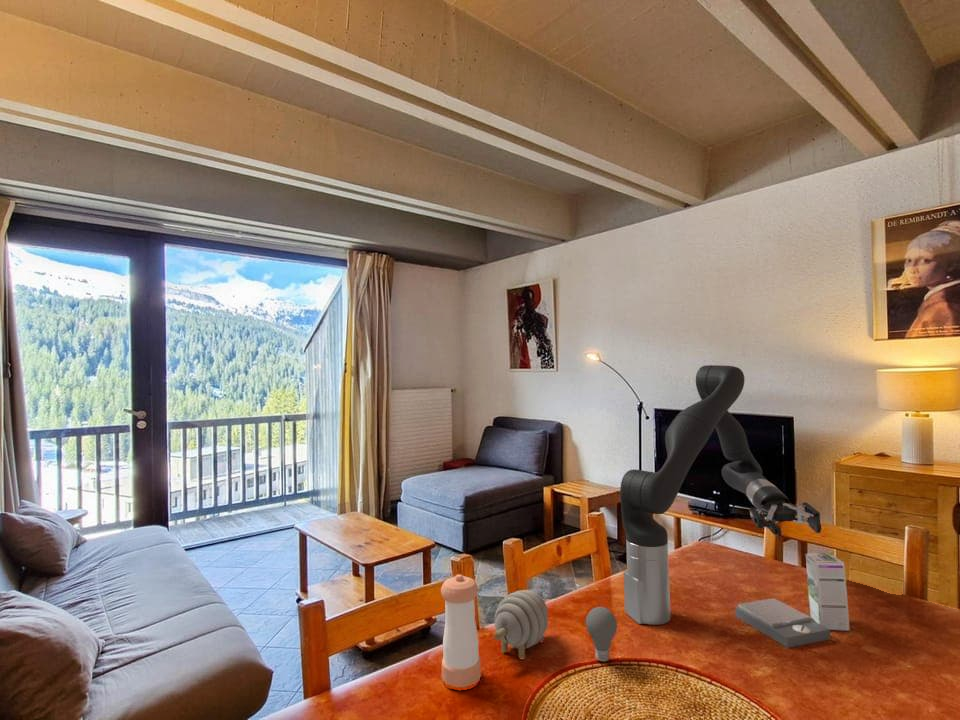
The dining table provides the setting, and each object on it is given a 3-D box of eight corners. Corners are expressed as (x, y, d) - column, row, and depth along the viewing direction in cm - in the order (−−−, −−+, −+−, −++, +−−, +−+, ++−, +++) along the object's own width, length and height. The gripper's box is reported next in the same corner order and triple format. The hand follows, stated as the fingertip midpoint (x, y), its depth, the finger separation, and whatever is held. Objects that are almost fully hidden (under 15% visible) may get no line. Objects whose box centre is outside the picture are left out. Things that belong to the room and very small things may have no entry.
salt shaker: (436, 688, 90) (434, 581, 91) (448, 665, 97) (446, 566, 98) (475, 693, 88) (473, 584, 89) (484, 670, 95) (482, 569, 96)
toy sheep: (560, 636, 107) (559, 584, 107) (525, 677, 93) (524, 617, 93) (517, 624, 113) (515, 574, 113) (477, 661, 98) (476, 604, 99)
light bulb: (596, 671, 94) (594, 617, 94) (581, 654, 100) (580, 603, 100) (624, 665, 96) (622, 612, 96) (608, 649, 101) (606, 599, 102)
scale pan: (772, 627, 104) (772, 624, 105) (738, 607, 114) (738, 604, 114) (810, 620, 107) (810, 617, 107) (774, 601, 116) (773, 598, 116)
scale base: (787, 647, 100) (786, 636, 100) (735, 616, 114) (735, 605, 114) (830, 639, 103) (829, 628, 103) (774, 609, 117) (774, 599, 117)
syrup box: (850, 631, 106) (846, 562, 107) (820, 629, 107) (816, 561, 108) (837, 618, 112) (833, 553, 112) (808, 617, 113) (804, 552, 113)
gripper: (737, 488, 131) (765, 519, 116) (795, 482, 129) (831, 513, 114) (739, 514, 133) (767, 548, 117) (796, 508, 131) (832, 543, 115)
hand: (799, 531), depth 115 cm, fingers open, 8 cm apart
